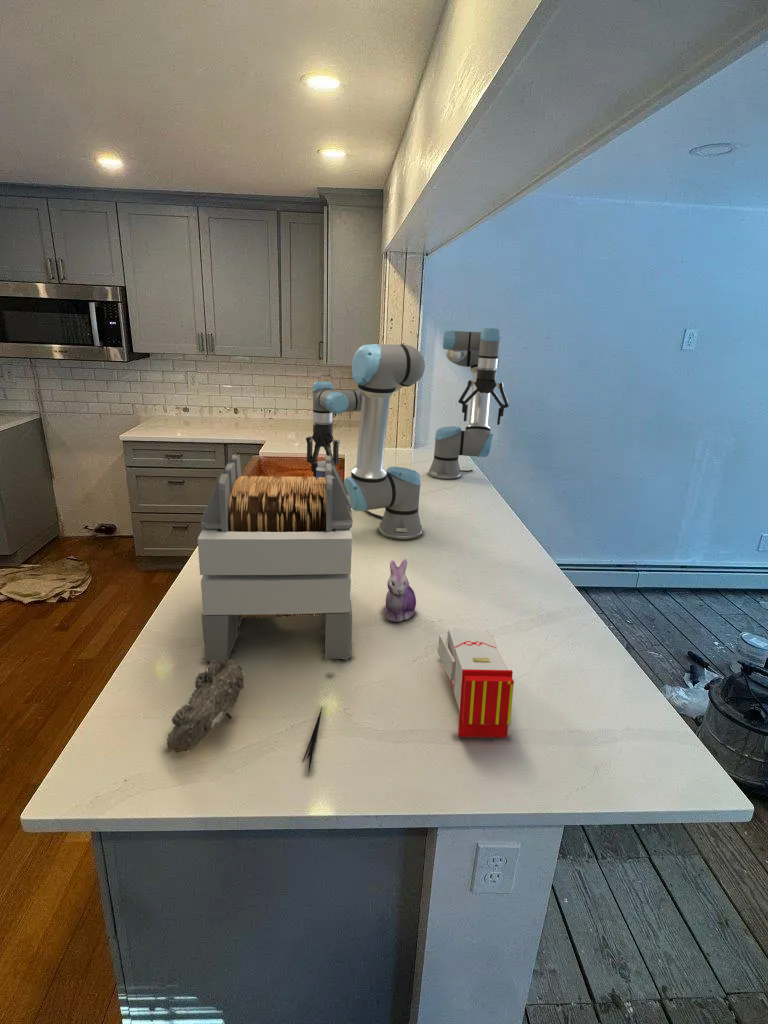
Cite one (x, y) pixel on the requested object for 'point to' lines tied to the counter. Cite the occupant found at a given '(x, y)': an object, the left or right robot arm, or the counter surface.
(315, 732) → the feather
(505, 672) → the toy
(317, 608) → the record crate
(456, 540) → the counter surface
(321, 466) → the pill bottle
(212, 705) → the fossil
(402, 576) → the figurine
